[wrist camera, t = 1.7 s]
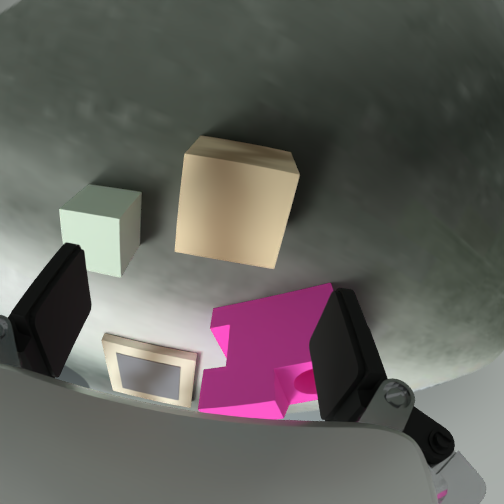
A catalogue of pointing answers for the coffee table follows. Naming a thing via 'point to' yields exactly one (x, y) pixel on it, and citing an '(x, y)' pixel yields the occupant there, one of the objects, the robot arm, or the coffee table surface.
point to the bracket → (264, 355)
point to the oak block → (235, 201)
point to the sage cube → (103, 227)
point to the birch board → (150, 370)
